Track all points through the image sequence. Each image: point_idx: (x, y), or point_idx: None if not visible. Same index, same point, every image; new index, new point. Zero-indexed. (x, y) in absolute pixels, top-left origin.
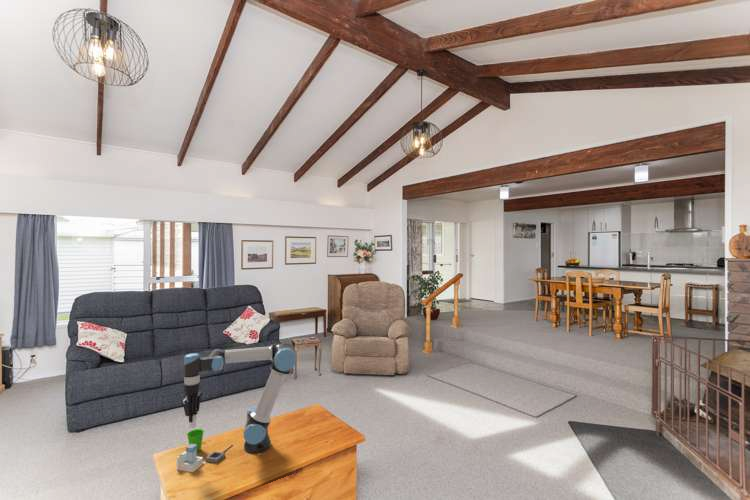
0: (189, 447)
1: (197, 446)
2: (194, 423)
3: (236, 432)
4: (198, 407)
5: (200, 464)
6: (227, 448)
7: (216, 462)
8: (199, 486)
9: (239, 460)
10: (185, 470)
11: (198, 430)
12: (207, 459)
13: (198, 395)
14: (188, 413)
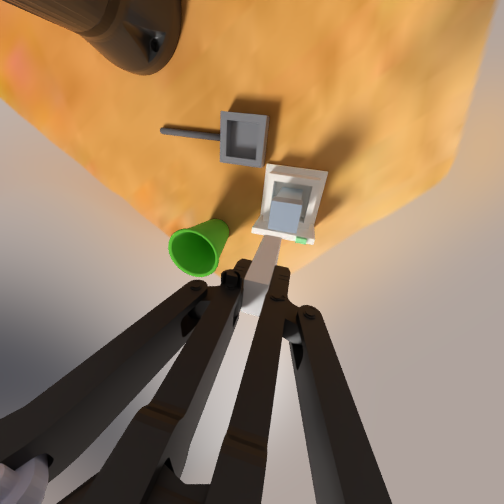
0: (297, 219)
1: (218, 226)
2: (269, 247)
3: (101, 169)
4: (178, 304)
5: (283, 172)
6: (183, 134)
7: (268, 117)
8: (422, 86)
9: (233, 27)
10: (318, 201)
11: (175, 253)
12: (262, 159)
13: (17, 480)
14: (330, 342)
